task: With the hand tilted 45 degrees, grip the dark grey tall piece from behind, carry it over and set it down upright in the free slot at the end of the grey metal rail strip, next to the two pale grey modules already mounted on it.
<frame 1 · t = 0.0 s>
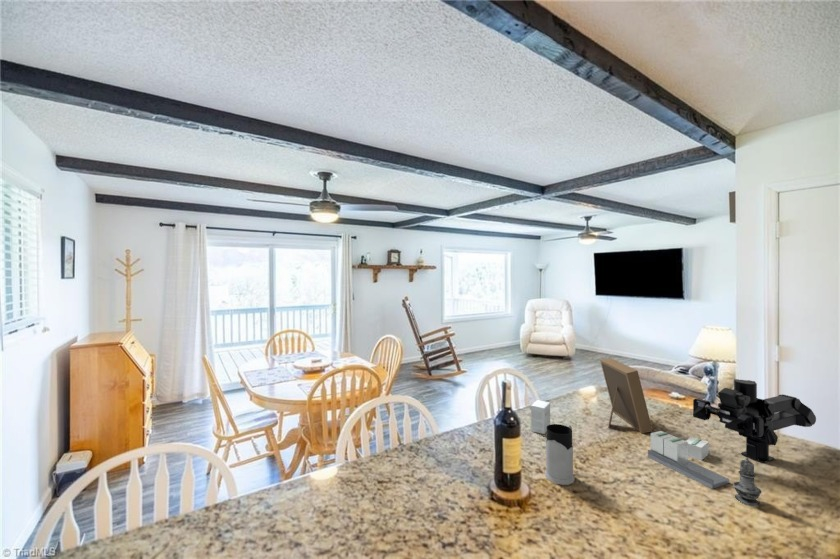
hand: (708, 420, 115), 17 cm above the kitchen counter, tool horizontal, fingers open, 9 cm apart
rail: (685, 469, 118), on the kitchen counter
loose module: (696, 454, 127), on the kitchen counter
dark grey tall piece: (746, 501, 101), on the kitchen counter
photo frame: (619, 422, 154), on the kitchen counter
glass holder: (562, 473, 116), on the kitchen counter
small box: (540, 429, 149), on the kitchen counter
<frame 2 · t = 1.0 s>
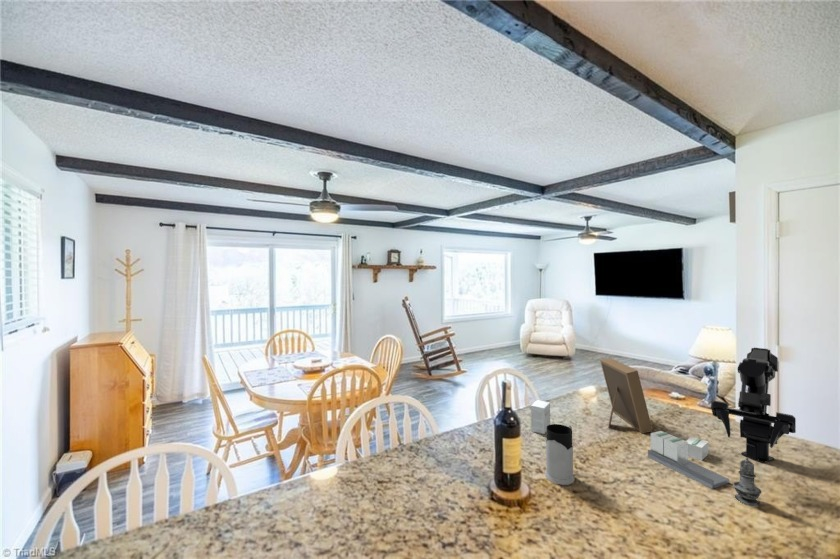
hand: (749, 441, 107), 14 cm above the kitchen counter, tool tilted 45°, fingers open, 9 cm apart
nothing on the kitchen counter moved.
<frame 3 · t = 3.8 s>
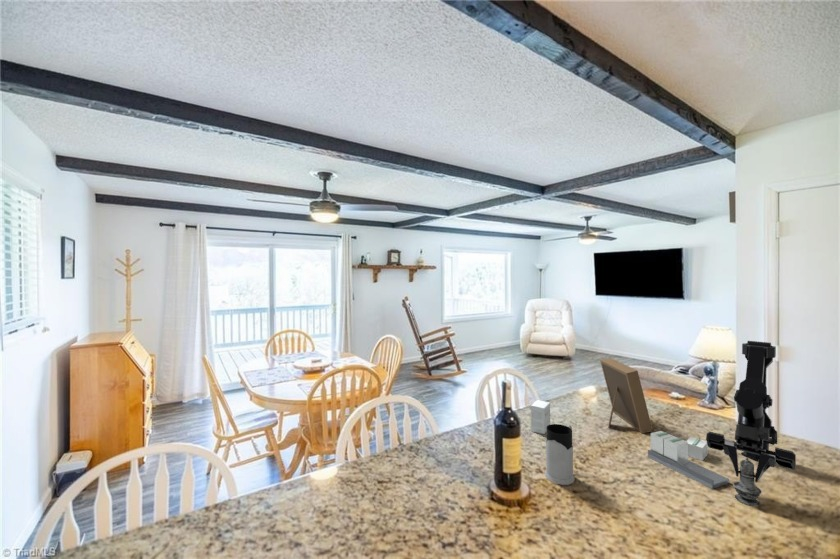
hand: (746, 478, 100), 7 cm above the kitchen counter, tool tilted 45°, fingers closed on dark grey tall piece, 4 cm apart
dark grey tall piece: (746, 501, 101), on the kitchen counter, touching gripper
everything else where it was.
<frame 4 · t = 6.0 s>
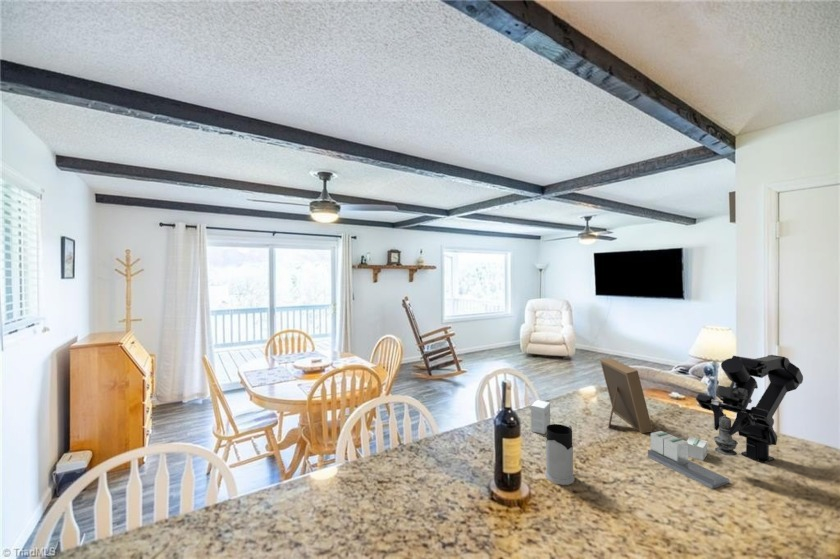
hand: (723, 431, 115), 13 cm above the kitchen counter, tool tilted 45°, fingers closed on dark grey tall piece, 4 cm apart
dark grey tall piece: (725, 452, 115), point 6 cm above the kitchen counter, touching gripper
everything else where it was.
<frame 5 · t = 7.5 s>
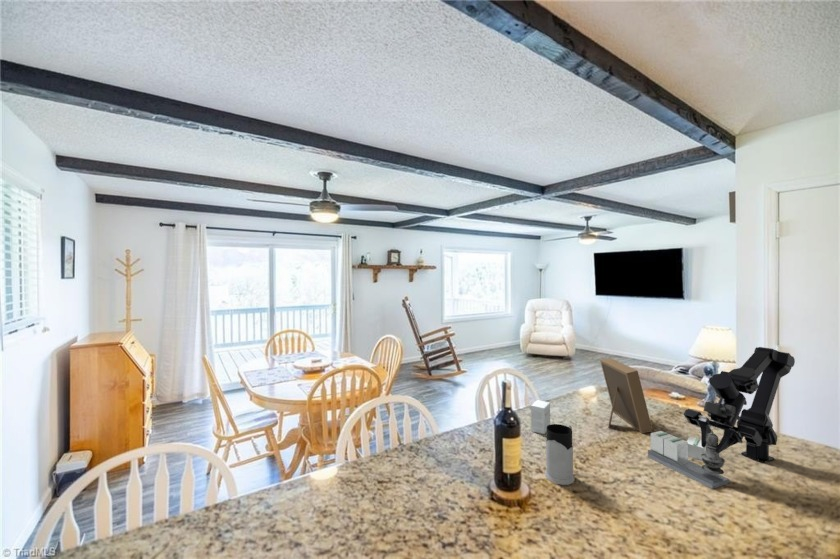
hand: (709, 449, 112), 9 cm above the kitchen counter, tool tilted 45°, fingers closed on dark grey tall piece, 4 cm apart
dark grey tall piece: (712, 470, 112), point 2 cm above the kitchen counter, touching gripper
everything else where it was.
when the fingers open (8 cm above the kitchen counter, at t = 8.2 s): dark grey tall piece stays where it is, resting on rail.
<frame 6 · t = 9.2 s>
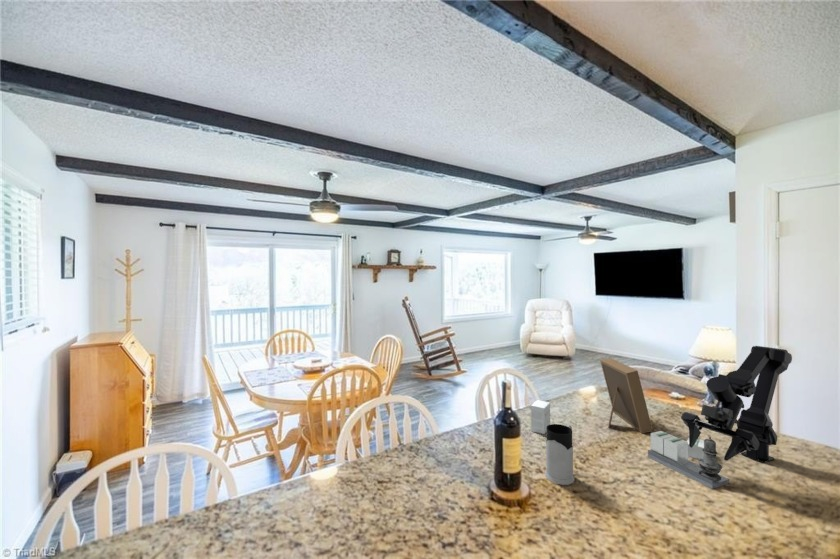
hand: (707, 453, 111), 8 cm above the kitchen counter, tool tilted 45°, fingers open, 9 cm apart
dark grey tall piece: (709, 476, 112), point 1 cm above the kitchen counter, touching rail
everything else where it was.
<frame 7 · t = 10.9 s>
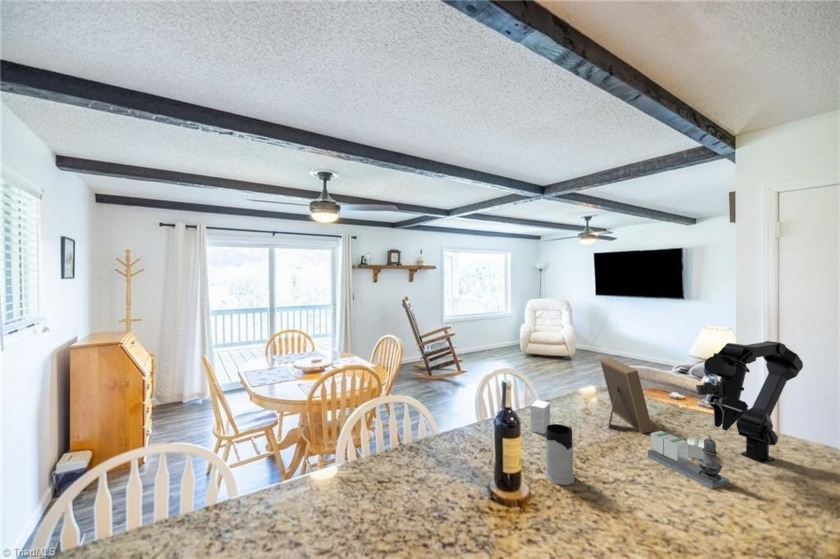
hand: (720, 428, 118), 13 cm above the kitchen counter, tool tilted 20°, fingers open, 9 cm apart
nothing on the kitchen counter moved.
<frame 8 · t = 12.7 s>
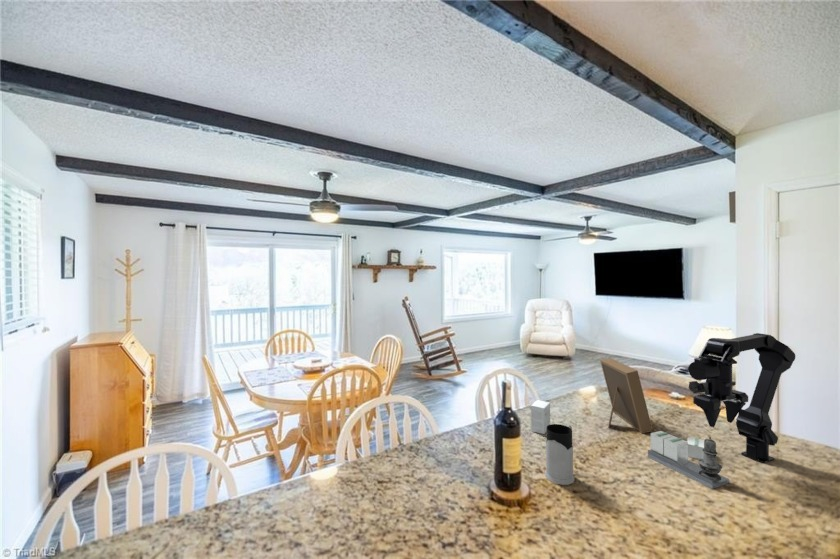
hand: (720, 424, 120), 13 cm above the kitchen counter, tool pointing down, fingers open, 9 cm apart
nothing on the kitchen counter moved.
at the end: dark grey tall piece 0.2 cm from the target spot on the rail, point 1.0 cm above the rail's base; dark grey tall piece tilted 0°; the gripper is holding nothing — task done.
